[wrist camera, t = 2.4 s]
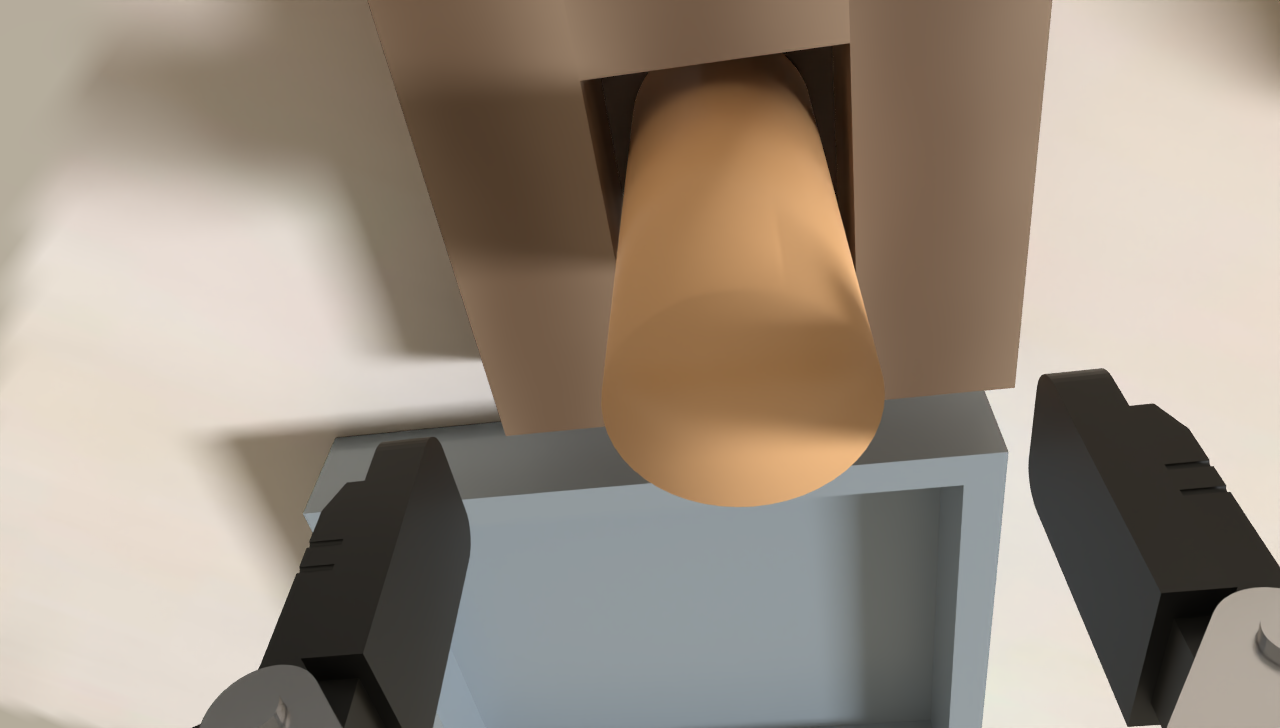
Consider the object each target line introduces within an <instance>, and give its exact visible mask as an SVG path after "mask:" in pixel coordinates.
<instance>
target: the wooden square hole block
mask: <svg viewBox="0 0 1280 728" xmlns="http://www.w3.org/2000/svg"><path fill="white" fill-rule="evenodd" d="M367 1H368V4H369V7H370V10H371V13H372V16H373V19H374V23H375V26H376V29H377V32H378V35H379V38H380V42H381V45H382V48H383V51H384V54H385V57H386V60H387V64H388V67H389V70H390V73H391V76H392V79H393V82H394V86H395V89H396V92H397V95H398V98H399V101H400V105H401V108H402V111H403V114H404V117H405V120H406V123H407V127H408V130H409V133H410V136H411V139H412V142H413V145H414V149H415V152H416V155H417V158H418V161H419V164H420V167H421V171H422V174H423V177H424V180H425V183H426V186H427V190H428V193H429V196H430V199H431V202H432V205H433V208H434V212H435V215H436V218H437V221H438V224H439V227H440V230H441V234H442V237H443V240H444V243H445V246H446V249H447V253H448V256H449V259H450V262H451V265H452V268H453V271H454V275H455V278H456V281H457V284H458V287H459V290H460V293H461V297H462V300H463V303H464V306H465V309H466V312H467V315H468V319H469V322H470V325H471V328H472V331H473V334H474V338H475V341H476V344H477V347H478V350H479V353H480V356H481V360H482V363H483V366H484V369H485V372H486V375H487V378H488V382H489V385H490V388H491V391H492V394H493V397H494V400H495V404H496V407H497V410H498V413H499V416H500V419H501V423H502V426H503V429H504V432H505V435H506V436H512V435H523V434H533V433H544V432H554V431H565V430H575V429H586V428H596V427H605V424H604V421H603V415H602V408H601V395H602V384H603V375H604V366H605V357H606V349H607V340H608V331H609V322H610V313H611V304H612V295H613V286H614V277H615V269H616V260H617V251H618V242H619V233H620V224H621V215H622V206H623V194H622V189H621V184H620V178H619V173H618V167H617V162H616V157H615V151H614V146H613V140H612V135H611V130H610V124H609V119H608V113H607V108H606V102H605V97H604V92H603V86H602V81H601V78H603V77H610V76H618V75H625V74H632V73H639V72H646V71H653V70H660V69H668V68H675V67H682V66H689V65H696V64H703V63H710V62H718V61H725V60H732V59H739V58H746V57H753V56H760V55H768V54H775V53H782V52H789V51H796V50H803V49H810V48H818V47H825V46H832V56H833V82H834V109H835V136H836V163H837V190H838V208H839V211H840V215H841V219H842V223H843V227H844V230H845V234H846V238H847V242H848V246H849V249H850V253H851V257H852V261H853V265H854V269H855V272H856V276H857V280H858V284H859V288H860V291H861V295H862V299H863V303H864V307H865V310H866V314H867V318H868V322H869V326H870V329H871V333H872V337H873V341H874V345H875V349H876V352H877V356H878V360H879V364H880V368H881V371H882V375H883V379H884V389H885V399H884V400H890V399H900V398H911V397H921V396H932V395H942V394H953V393H963V392H974V391H984V390H995V389H1005V388H1015V379H1016V369H1017V358H1018V348H1019V338H1020V327H1021V317H1022V307H1023V297H1024V286H1025V276H1026V266H1027V255H1028V245H1029V235H1030V224H1031V214H1032V204H1033V193H1034V183H1035V173H1036V163H1037V152H1038V142H1039V132H1040V121H1041V111H1042V101H1043V90H1044V80H1045V70H1046V60H1047V49H1048V39H1049V29H1050V18H1051V8H1052V0H367Z"/></svg>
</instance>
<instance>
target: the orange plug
mask: <svg viewBox="0 0 1280 728" xmlns="http://www.w3.org/2000/svg"><path fill="white" fill-rule="evenodd" d="M884 399H885V389H884V379H883V375H882V371H881V368H880V364H879V360H878V356H877V352H876V349H875V345H874V341H873V337H872V333H871V329H870V326H869V322H868V318H867V314H866V310H865V307H864V303H863V299H862V295H861V291H860V288H859V284H858V280H857V276H856V272H855V269H854V265H853V261H852V257H851V253H850V249H849V246H848V242H847V238H846V234H845V230H844V227H843V223H842V219H841V215H840V211H839V208H838V204H837V200H836V196H835V192H834V189H833V185H832V181H831V177H830V173H829V169H828V166H827V162H826V158H825V154H824V150H823V147H822V143H821V139H820V135H819V131H818V128H817V124H816V120H815V116H814V112H813V109H812V105H811V101H810V97H809V94H808V90H807V87H806V85H805V83H804V80H803V78H802V77H801V75H800V73H799V72H798V70H797V68H796V67H795V66H794V65H793V64H792V62H791V61H790V60H789V59H788V58H787V57H786V56H784V55H783V54H782V53H775V54H768V55H760V56H753V57H746V58H739V59H732V60H725V61H718V62H710V63H703V64H696V65H689V66H682V67H675V68H668V69H660V70H653V71H649V73H648V74H647V76H646V77H645V79H644V80H643V82H642V84H641V86H640V88H639V91H638V94H637V97H636V100H635V104H634V110H633V117H632V126H631V135H630V144H629V153H628V162H627V171H626V180H625V188H624V197H623V206H622V215H621V224H620V233H619V242H618V251H617V260H616V269H615V277H614V286H613V295H612V304H611V313H610V322H609V331H608V340H607V349H606V357H605V366H604V375H603V384H602V395H601V408H602V415H603V421H604V424H605V427H606V430H607V434H608V436H609V438H610V440H611V442H612V444H613V446H614V447H615V449H616V450H617V451H618V453H619V454H620V456H621V457H622V459H623V460H624V461H625V462H626V463H627V464H628V465H629V466H630V467H631V468H632V469H633V470H634V471H635V472H637V473H638V474H639V475H640V476H642V477H643V478H644V479H645V480H647V481H649V482H650V483H652V484H653V485H655V486H656V487H658V488H660V489H662V490H664V491H666V492H668V493H671V494H673V495H676V496H678V497H681V498H684V499H687V500H690V501H694V502H698V503H702V504H708V505H715V506H725V507H754V506H762V505H770V504H774V503H779V502H783V501H788V500H791V499H794V498H797V497H800V496H803V495H805V494H807V493H810V492H812V491H814V490H816V489H819V488H820V487H822V486H824V485H826V484H827V483H829V482H831V481H832V480H834V479H835V478H837V477H838V476H839V475H841V474H842V473H843V472H845V471H846V470H847V469H848V468H849V467H850V466H851V465H852V464H853V463H855V462H856V461H857V460H858V458H859V457H860V456H861V455H862V454H863V452H864V451H865V450H866V449H867V447H868V446H869V444H870V442H871V441H872V439H873V437H874V436H875V433H876V431H877V429H878V426H879V424H880V421H881V417H882V413H883V409H884Z"/></svg>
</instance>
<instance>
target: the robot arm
mask: <svg viewBox="0 0 1280 728" xmlns="http://www.w3.org/2000/svg"><path fill="white" fill-rule="evenodd" d="M1029 481H1030V488H1031V493H1032V497H1033V501H1034V505H1035V508H1036V510H1037V513H1038V515H1039V517H1040V520H1041V522H1042V525H1043V527H1044V529H1045V532H1046V534H1047V536H1048V539H1049V541H1050V544H1051V546H1052V548H1053V551H1054V553H1055V555H1056V558H1057V560H1058V563H1059V565H1060V567H1061V570H1062V572H1063V574H1064V577H1065V579H1066V582H1067V584H1068V586H1069V589H1070V591H1071V593H1072V596H1073V598H1074V601H1075V603H1076V605H1077V608H1078V610H1079V612H1080V615H1081V617H1082V620H1083V622H1084V624H1085V627H1086V629H1087V631H1088V634H1089V636H1090V639H1091V641H1092V643H1093V646H1094V648H1095V650H1096V653H1097V655H1098V658H1099V660H1100V662H1101V665H1102V667H1103V669H1104V672H1105V674H1106V677H1107V679H1108V681H1109V684H1110V686H1111V688H1112V691H1113V693H1114V696H1115V698H1116V700H1117V703H1118V705H1119V707H1120V710H1121V712H1122V715H1123V717H1124V719H1125V722H1126V724H1127V726H1128V727H1132V726H1148V725H1161V727H1162V728H1280V567H1279V565H1278V564H1277V562H1276V561H1275V559H1274V558H1273V556H1272V555H1271V553H1270V552H1269V550H1268V548H1267V547H1266V545H1265V544H1264V542H1263V541H1262V539H1261V538H1260V536H1259V535H1258V533H1257V532H1256V530H1255V529H1254V527H1253V526H1252V524H1251V523H1250V521H1249V520H1248V518H1247V516H1246V515H1245V513H1244V512H1243V510H1242V509H1241V507H1240V506H1239V504H1238V503H1237V501H1236V500H1235V498H1234V497H1233V495H1232V494H1231V492H1227V490H1226V485H1225V483H1224V481H1223V480H1222V478H1221V477H1220V475H1219V474H1218V472H1217V471H1216V469H1215V468H1214V466H1210V464H1209V459H1208V457H1207V456H1206V454H1205V453H1204V451H1203V449H1202V448H1201V446H1200V445H1199V443H1198V442H1197V440H1196V439H1195V437H1194V436H1193V434H1192V433H1191V431H1190V430H1189V429H1188V428H1187V427H1186V426H1184V425H1183V424H1181V423H1180V422H1179V421H1177V420H1176V419H1175V418H1173V417H1172V416H1170V415H1169V414H1168V413H1166V412H1165V411H1163V410H1162V409H1161V408H1159V407H1158V406H1157V405H1155V404H1144V405H1134V406H1129V405H1128V403H1127V401H1126V400H1125V398H1124V396H1123V394H1122V393H1121V391H1120V389H1119V388H1118V386H1117V384H1116V383H1115V381H1114V379H1113V378H1112V376H1111V375H1110V373H1109V372H1108V371H1107V370H1105V369H1102V368H1100V369H1091V370H1081V371H1071V372H1062V373H1052V374H1044V375H1042V376H1041V377H1040V379H1039V381H1038V385H1037V392H1036V401H1035V410H1034V418H1033V427H1032V436H1031V445H1030V454H1029ZM309 543H310V548H307V549H306V551H305V554H304V556H303V559H302V561H301V564H300V566H299V568H300V573H297V574H296V577H295V579H294V582H293V584H292V587H291V589H290V592H289V594H288V597H287V599H286V602H285V604H284V607H283V609H282V612H281V614H280V617H279V619H278V622H277V624H276V627H275V630H274V632H273V635H272V637H271V640H270V642H269V645H268V647H267V650H266V652H265V655H264V657H263V660H262V662H261V665H260V667H259V669H258V670H256V671H254V672H251V673H249V674H247V675H246V676H244V677H242V678H240V679H239V680H237V681H236V682H234V683H233V684H232V685H230V686H229V687H228V688H227V689H226V690H224V691H223V692H222V693H221V694H220V695H219V696H218V698H217V699H216V700H215V701H214V702H213V704H212V705H211V706H210V708H209V709H208V711H207V712H206V714H205V716H204V718H203V720H202V722H201V724H200V725H197V726H195V727H193V728H433V725H434V721H435V716H436V711H437V707H438V702H439V698H440V693H441V688H442V684H443V679H444V674H445V670H446V665H447V660H448V656H449V651H450V647H451V642H452V637H453V633H454V628H455V623H456V619H457V614H458V609H459V605H460V600H461V596H462V591H463V586H464V582H465V577H466V572H467V568H468V563H469V558H470V550H471V535H470V526H469V520H468V516H467V513H466V510H465V507H464V504H463V501H462V499H461V496H460V493H459V491H458V488H457V485H456V483H455V480H454V477H453V474H452V472H451V469H450V466H449V464H448V461H447V458H446V456H445V453H444V450H443V448H442V445H441V443H440V442H439V440H438V439H437V438H436V437H423V438H414V439H404V440H395V441H385V442H381V443H380V444H379V445H378V446H377V448H376V450H375V453H374V456H373V458H372V461H371V464H370V467H369V469H368V472H367V475H366V478H365V481H356V482H347V483H346V484H345V485H344V486H343V487H342V488H341V489H340V491H339V492H338V493H337V494H336V495H335V496H334V497H333V499H332V500H331V501H330V502H329V503H328V504H327V505H326V507H325V508H324V509H323V510H322V511H321V514H320V516H319V519H318V521H317V524H316V526H315V529H314V531H313V534H312V536H311V539H310V541H309Z"/></svg>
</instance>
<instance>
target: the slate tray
mask: <svg viewBox="0 0 1280 728" xmlns="http://www.w3.org/2000/svg"><path fill="white" fill-rule="evenodd" d="M423 437H436V438H437V439H438V440H439V442H440V443H441V445H442V448H443V450H444V453H445V456H446V458H447V461H448V464H449V466H450V469H451V472H452V474H453V477H454V480H455V483H456V485H457V488H458V491H459V493H460V496H461V499H462V501H463V504H464V507H465V510H466V513H467V516H468V520H469V526H470V535H471V550H470V558H469V563H468V568H467V572H466V577H465V582H464V586H463V591H462V596H461V600H460V605H459V609H458V614H457V619H456V623H455V628H454V633H453V637H452V642H451V647H450V651H449V656H448V660H447V665H446V670H445V674H444V679H443V684H442V688H441V693H440V698H439V702H438V707H437V711H436V716H435V721H434V725H433V728H982V719H983V709H984V698H985V688H986V678H987V667H988V657H989V647H990V636H991V626H992V616H993V606H994V595H995V585H996V575H997V564H998V554H999V544H1000V533H1001V523H1002V513H1003V503H1004V492H1005V482H1006V472H1007V461H1008V450H1007V447H1006V445H1005V442H1004V439H1003V437H1002V434H1001V432H1000V429H999V427H998V424H997V422H996V419H995V417H994V414H993V411H992V409H991V406H990V404H989V401H988V399H987V396H986V394H985V391H974V392H963V393H953V394H942V395H932V396H921V397H911V398H900V399H890V400H884V409H883V413H882V417H881V421H880V424H879V426H878V429H877V431H876V433H875V436H874V437H873V439H872V441H871V442H870V444H869V446H868V447H867V449H866V450H865V451H864V452H863V454H862V455H861V456H860V457H859V458H858V460H857V461H856V462H855V463H853V464H852V465H851V466H850V467H849V468H848V469H847V470H846V471H845V472H843V473H842V474H841V475H839V476H838V477H837V478H835V479H834V480H832V481H831V482H829V483H827V484H826V485H824V486H822V487H820V488H819V489H816V490H814V491H812V492H810V493H807V494H805V495H803V496H800V497H797V498H794V499H791V500H788V501H783V502H779V503H774V504H770V505H762V506H754V507H725V506H715V505H708V504H702V503H698V502H694V501H690V500H687V499H684V498H681V497H678V496H676V495H673V494H671V493H668V492H666V491H664V490H662V489H660V488H658V487H656V486H655V485H653V484H652V483H650V482H649V481H647V480H645V479H644V478H643V477H642V476H640V475H639V474H638V473H637V472H635V471H634V470H633V469H632V468H631V467H630V466H629V465H628V464H627V463H626V462H625V461H624V460H623V459H622V457H621V456H620V454H619V453H618V451H617V450H616V449H615V447H614V446H613V444H612V442H611V440H610V438H609V436H608V434H607V430H606V427H596V428H586V429H575V430H565V431H554V432H544V433H533V434H523V435H512V436H506V435H505V432H504V429H503V426H502V423H501V422H494V423H484V424H474V425H463V426H453V427H443V428H433V429H422V430H412V431H402V432H391V433H381V434H371V435H361V436H350V437H340V438H335V440H334V443H333V445H332V447H331V450H330V452H329V454H328V457H327V459H326V461H325V464H324V466H323V468H322V471H321V473H320V475H319V478H318V480H317V482H316V485H315V487H314V489H313V492H312V494H311V496H310V499H309V501H308V503H307V506H306V508H305V510H304V513H303V515H304V517H305V519H306V520H307V522H308V524H309V526H310V528H311V530H312V532H313V531H314V529H315V526H316V524H317V521H318V519H319V516H320V514H321V511H322V510H323V509H324V508H325V507H326V505H327V504H328V503H329V502H330V501H331V500H332V499H333V497H334V496H335V495H336V494H337V493H338V492H339V491H340V489H341V488H342V487H343V486H344V485H345V484H346V483H347V482H356V481H365V478H366V475H367V472H368V469H369V467H370V464H371V461H372V458H373V456H374V453H375V450H376V448H377V446H378V445H379V444H380V443H381V442H385V441H395V440H404V439H414V438H423Z"/></svg>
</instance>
